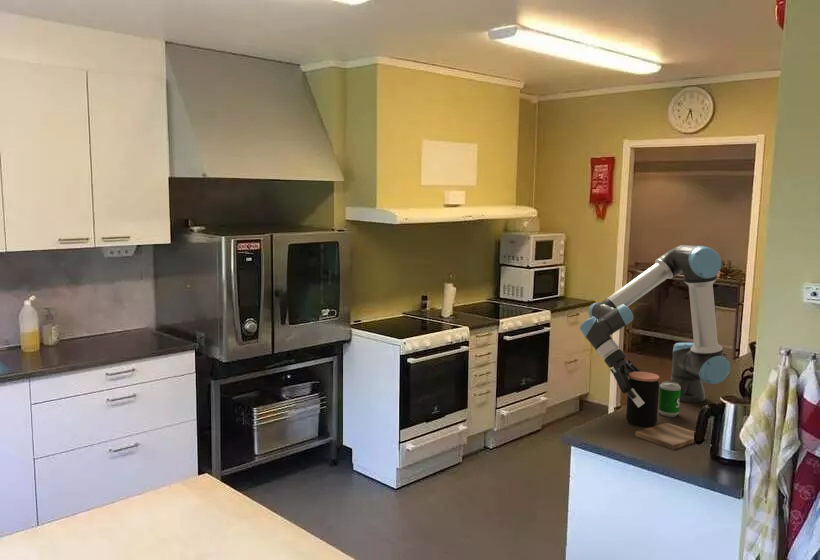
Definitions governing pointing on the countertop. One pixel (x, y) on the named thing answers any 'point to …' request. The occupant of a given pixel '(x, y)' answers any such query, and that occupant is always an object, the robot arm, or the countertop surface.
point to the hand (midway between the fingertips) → (648, 401)
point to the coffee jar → (649, 393)
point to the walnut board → (667, 435)
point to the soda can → (669, 399)
